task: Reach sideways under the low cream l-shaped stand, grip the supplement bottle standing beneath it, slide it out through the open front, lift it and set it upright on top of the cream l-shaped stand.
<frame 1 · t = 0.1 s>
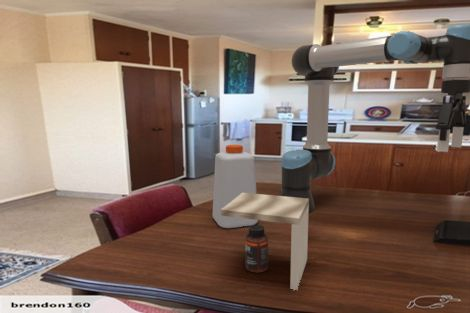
hand: (449, 149, 102), 28 cm above the table, tool pointing down, fingers open, 13 cm apart
supplement bottle: (256, 268, 86), on the table
cream l-shaped stand: (256, 268, 86), on the table
plastic bottle: (235, 221, 120), on the table
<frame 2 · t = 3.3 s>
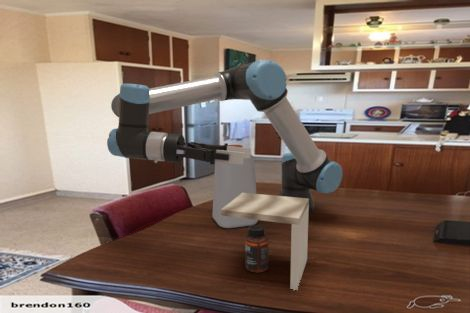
hand: (247, 155, 82), 30 cm above the table, tool horizontal, fingers open, 13 cm apart
nothing on the table moved.
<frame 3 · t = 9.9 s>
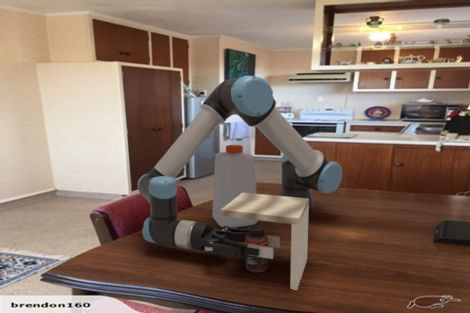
hand: (276, 247, 83), 7 cm above the table, tool horizontal, fingers closed on supplement bottle, 6 cm apart
supplement bottle: (256, 268, 86), on the table, touching gripper
everything else where it was.
when the fingers open (25 cm above the table, at t = 18.0 s): supplement bottle drops 1 cm, resting on cream l-shaped stand.
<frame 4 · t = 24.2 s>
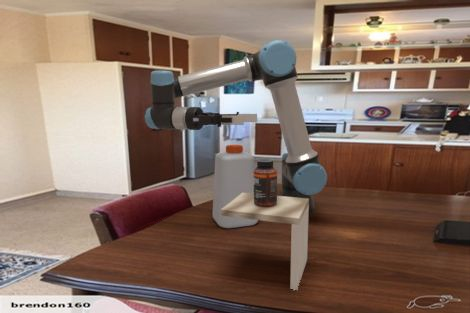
hand: (250, 119, 100), 38 cm above the table, tool horizontal, fingers open, 13 cm apart
supplement bottle: (265, 204, 83), point 17 cm above the table, touching cream l-shaped stand
everything else where it was.
at the end: supplement bottle inside the target area on the cream l-shaped stand (0.4 cm from its centre), point 17.3 cm above the cream l-shaped stand's base; supplement bottle tilted 0°; the gripper is holding nothing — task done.
